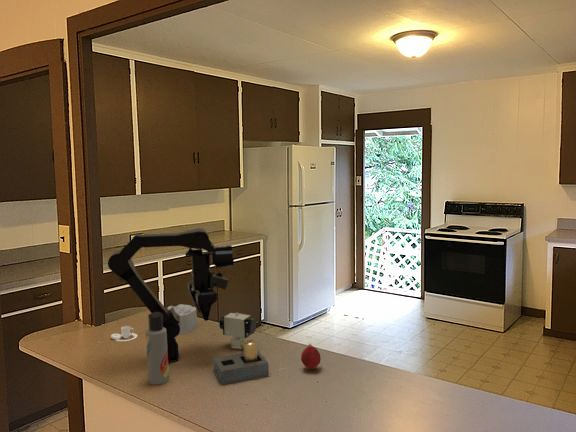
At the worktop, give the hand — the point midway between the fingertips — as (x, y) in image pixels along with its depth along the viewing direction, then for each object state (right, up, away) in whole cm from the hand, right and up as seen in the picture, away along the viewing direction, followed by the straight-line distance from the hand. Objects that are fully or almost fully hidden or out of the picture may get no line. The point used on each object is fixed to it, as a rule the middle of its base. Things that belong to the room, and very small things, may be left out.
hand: (203, 316), depth 158 cm
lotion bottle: (-10, -16, -16) cm, 24 cm away
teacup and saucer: (-33, -12, +22) cm, 41 cm away
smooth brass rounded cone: (+16, -14, -12) cm, 24 cm away
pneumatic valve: (+11, -12, +8) cm, 18 cm away
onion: (+34, -14, -11) cm, 38 cm away
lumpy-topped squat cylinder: (-13, -11, +26) cm, 31 cm away
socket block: (+13, -14, -13) cm, 23 cm away
